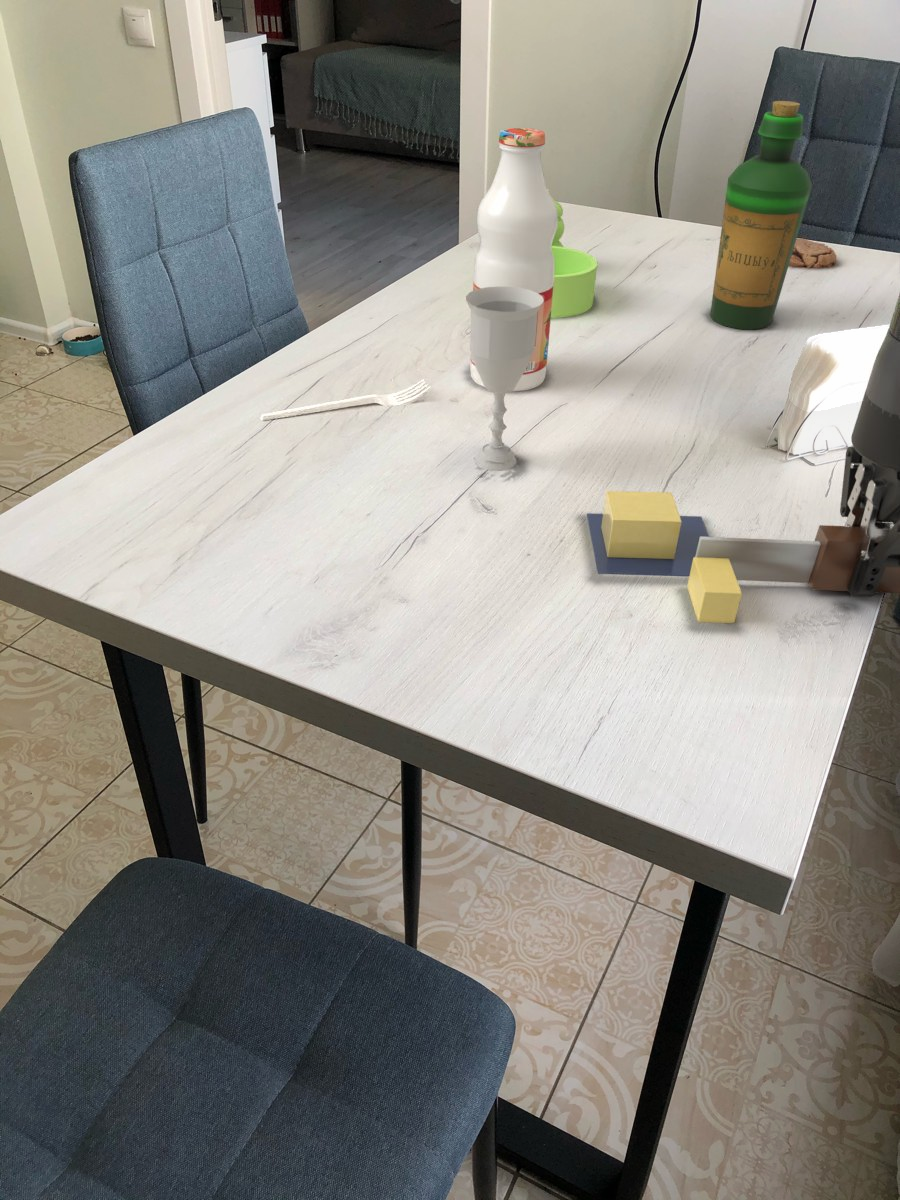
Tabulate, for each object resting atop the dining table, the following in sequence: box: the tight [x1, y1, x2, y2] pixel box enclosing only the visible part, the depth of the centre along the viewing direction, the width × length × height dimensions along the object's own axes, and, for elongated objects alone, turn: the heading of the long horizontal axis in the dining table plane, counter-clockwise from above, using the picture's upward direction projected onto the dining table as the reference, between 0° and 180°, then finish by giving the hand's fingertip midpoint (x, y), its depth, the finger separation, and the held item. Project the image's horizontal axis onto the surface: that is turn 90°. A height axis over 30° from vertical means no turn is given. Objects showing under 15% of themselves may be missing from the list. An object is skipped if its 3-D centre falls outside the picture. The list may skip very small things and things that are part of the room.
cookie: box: [788, 237, 837, 270], centre depth 156 cm, size 10×11×3 cm
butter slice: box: [686, 557, 743, 624], centre depth 78 cm, size 3×5×4 cm, turn 179°
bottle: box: [709, 100, 813, 331], centre depth 126 cm, size 11×11×28 cm
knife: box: [695, 524, 900, 594], centre depth 79 cm, size 18×2×5 cm, turn 89°
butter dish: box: [586, 490, 710, 577], centre depth 85 cm, size 11×10×5 cm
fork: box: [260, 379, 431, 422], centre depth 108 cm, size 3×20×2 cm, turn 112°
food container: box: [547, 188, 598, 319], centre depth 139 cm, size 25×15×13 cm, turn 1°
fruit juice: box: [469, 127, 558, 392], centre depth 108 cm, size 9×9×28 cm
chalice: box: [465, 287, 543, 472], centre depth 93 cm, size 7×7×18 cm
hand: (854, 582), depth 80 cm, fingers closed on knife, 2 cm apart
